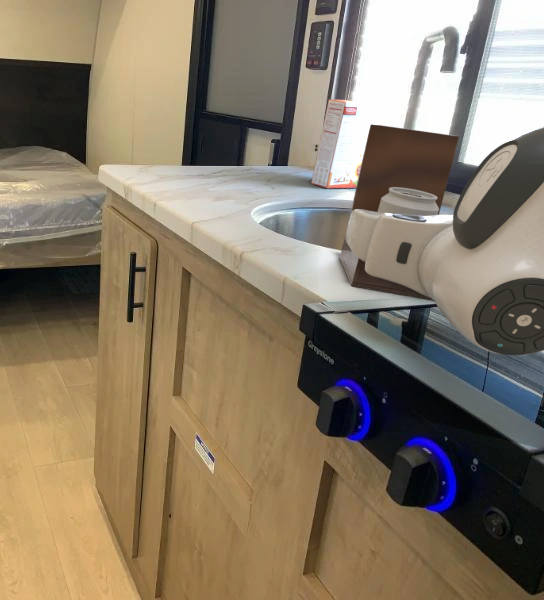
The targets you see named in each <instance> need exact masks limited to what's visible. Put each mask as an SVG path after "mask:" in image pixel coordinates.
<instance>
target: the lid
mask: <svg viewBox="0 0 544 600" xmlns="http://www.w3.org/2000/svg"><path fill="white" fill-rule="evenodd" d="M459 139H460V136H459V135H455V134H454V135H453V134H445V133H438V132H431V131H424V130H419V129H418V130H417V129H410V128H403V127H396V126H390V125H389V126H388V125H381V124H378V125H375V124H371V125H370V129H369V133H368V137H367V142H366V146H365V151H364V155H363V160H362V164H361V169H360V173H359V177H358V182H357V186H356V188H355V191H354V196H353V201H352V204H351V209H350V213H349V219H350V216H351V213H352V211H353V210H355V209H363V210H368V211H373V212H378V209H379V205H380V201H381V198H382V197H383V196H385V195H386V194H388V193H389V188H392V187H399V188H408V189H414V190H419V191H423V192H427V193H430V194H433V195H435V196H437V200H435V202H436V204H437V206H438V208H439V212H438V215H440V212H441V208H442V204H443V200H444V196H445V192H446V190H447V189H446V188H447V185H448V181H449V177H450V174H451V170H452V165H453V161H454V157H455V154H456V150H457V146H458V142H459ZM349 219H348V220H349Z"/></svg>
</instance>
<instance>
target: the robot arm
mask: <svg viewBox="0 0 544 600" xmlns="http://www.w3.org/2000/svg"><path fill="white" fill-rule="evenodd" d="M350 213H351V212H350ZM349 218H350V219H348V224H347V227H346V231H345V235H346V241H347V243H348V245H349V247H350V248H351V250H352V251H353V253H354V254H355V255H356V256H357V257H358V258H359V259H361V260H363V261H365V262H366V265H365V271H366V272H367V273H368V274H369V275H372V276H375V277H378V278H381V279H384V280H387V281H391V282H394V283H397V284H400V285H403V286H406V287H408V288H411V289H413V290H415V291H417V292H419V293H421V294H423V295H425V296H427V297H431V298H432V299H433V300H432V301H433V302H434V303H435V304H436V307H437V308H438V310H439V311H440V312H441V314H442V315H443V317H444V318H445V319H446V321H448V323H450V325H451V326H452V327H453V328H454V329H455V330H456V331H457V332H458V333H459V334H460V335H461V336H462V337H463V338H465V339H466V340H467V341H469V343H471V344H473V345H474V346H476V347H478V348H479V349H482V350H483V351H487V352H488V353H489V352H490V353H493V354H496V355H502V356H510V357H511V356H513V357H515V356H526V355H532V354H537V353H540V352H541V353H542V352H544V126H541V127H538V128H535V129H532V130H529V131H526V132H524V133H522V134H519V135H517V136H516V137H513V138H512V139H509V140H508V141H506V142H504V143H502V144H500V145H498V146H497V147H496V148H495V149H493V150H492V151H491V152H490V153H488V155H486V157H484V159H483V160H482V161H481V162H480V164H479V165H478V166H477V167H476V169H475V170H474V172H473V173H472V174H471V176H470V177H469V178H468V180H467V182H466V184H465V185H464V188H463V189H462V191H461V192H460V195H459V197H458V199H457V202H456V203H455V207H454V209H453V214H439V215H433V216H418V215H403V214H390V213H380V212H373V211H368V210H363V209H355V210H353V211H352V213H351V216H350V215H349Z"/></svg>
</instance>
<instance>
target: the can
mask: <svg viewBox="0 0 544 600" xmlns="http://www.w3.org/2000/svg"><path fill="white" fill-rule="evenodd" d="M435 200H437V196H435V195H433V194H430V193H427V192H423V191H419V190H414V189H408V188H399V187H392V188H389V193H388V194H386V195H385V196H383V197H382V198H381V201H380V205H379V209H378V212H380V213H390V214H403V215H418V216H433V215H438V212H439V208H438V206H437V204H436V202H435ZM439 213H440V212H439Z"/></svg>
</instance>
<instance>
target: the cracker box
mask: <svg viewBox="0 0 544 600" xmlns="http://www.w3.org/2000/svg"><path fill="white" fill-rule="evenodd" d="M383 107H384V105H383V104H378V103H373V102H366V101H356V100H347V99H333V98H331V99H328V101H327V106H326V111H325V115H324V116H325V117H324V120H323V125H322V130H321V134H320V139H319V144H318V148H317V153H316V158H315V163H314V168H313V172H312V176H311V177H312V178H311V182H310V184H311V185H315V186H318V187H321V188H324V189H356V186H357V182H358V177H359V173H360V169H361V164H362V160H363V155H364V151H365V146H366V142H367V137H368V133H369V129H370V125H371V124H375V125H380V124H379V123H380V121H381V120H380V119H381V114H382V111H383Z"/></svg>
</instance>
